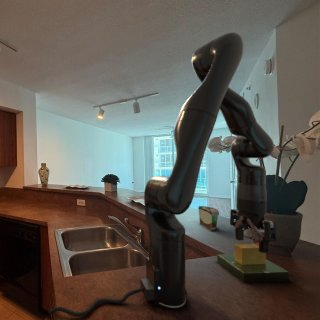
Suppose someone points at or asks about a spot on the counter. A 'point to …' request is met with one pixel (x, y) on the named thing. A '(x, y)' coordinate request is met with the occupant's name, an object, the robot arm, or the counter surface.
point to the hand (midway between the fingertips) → (250, 245)
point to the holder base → (253, 270)
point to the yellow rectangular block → (249, 254)
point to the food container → (208, 217)
